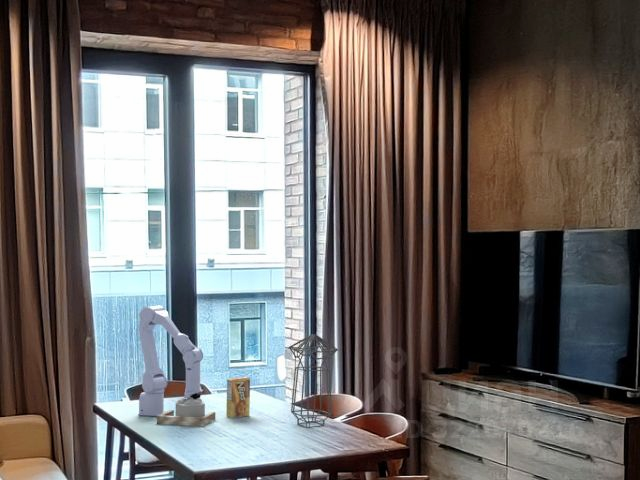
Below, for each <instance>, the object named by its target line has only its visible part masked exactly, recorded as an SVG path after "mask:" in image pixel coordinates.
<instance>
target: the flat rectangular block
mask: <svg viewBox="0 0 640 480" xmlns="http://www.w3.org/2000/svg"><path fill="white" fill-rule="evenodd" d="M164 412H165V413H162V414H160V415H158V416H156V424H157V425H170V426H171V425H175V426H189V427H191V426H194V427H205V426H207V425H209V424H210V423H212V422H214V421H216V412H215V411H211V412H209V413H207V414H205V416H203V417H182V416H176V415H175V409H169V410H167V411H164Z"/></svg>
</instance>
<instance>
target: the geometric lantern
mask: <svg viewBox="0 0 640 480" xmlns="http://www.w3.org/2000/svg"><path fill="white" fill-rule="evenodd" d="M298 344H299V345H298ZM312 344H313V346H312ZM297 345H298V346H297ZM308 346H309V347H308ZM287 348H288V349H289V350H290V351H291V353H292V355H293V356H294V373H293V374H294V375H293V384H292V397H291V409H290V412H291V414H292V415H293V416H294V417H295V419H296V421H297V422H296V423H297V424H296V425H297V426H300V427H304V428H305V429H307V428H308V429H309V428H317V427H318V428H319V427H325V422H326V420H328V418H329V417H330V416H331V415H332V392H331V391H332V388H331V387H332V385H331V384H332V383H331V381H332V380H331V378H332V377H331V371H332V370H331V368H329V367H330V364H329V361H330V359H332V357H333V356H334V355H335V354H336V353H337V352H338V351H339V350H340V349H338V348H337V347H335V346H334V345H333V344H332V343H330V342H328V341H326V339H324V338H322V337H321V336H319V335H318V334H315V333H313V334H309V335H308V336H306V337H304V338H302V339H301V340H299V341H297V342H295V343H293V344H292V345H290V346H288V347H287ZM318 349H320V350H318ZM304 352H308V354H305V353H304ZM298 353H299V354H298ZM313 353H315V355H314V354H313ZM318 353H322V357H318ZM303 357H309V358H310V360H311V363H310V365H308V366H304V365H303V363H302V359H303ZM312 357H313V358H314V359H312ZM296 359H298V361H299V362H298V364H296V363H297V362H296V361H297V360H296ZM315 360H316V361H318V360H323V361H322V362H321V364H320V366H317V365H316V364H315ZM326 360H327V362H326ZM312 364H314V366H312ZM296 365H297V366H296ZM300 365H301V366H300ZM323 365H325V367H323ZM310 368H311V369H310ZM312 368H313V369H312ZM314 368H315V369H314ZM299 370H300V371H303V375H302V387H301V400H300V401H301V403H300V409H298V410H297V409H295V407H296V397H297V390H298V389H297V387H298V380H299V379H298V377H299ZM305 372H307V373H306V375H307V376H306V377H307V378H306V379H307V382H306V383H307V384H306V386H307V391H306V392H307V393H306V395H307V397H306V399H307V401H306V402H307V403H306V409H303V405H304V404H303V402H304V391H305V389H304V388H305V387H304V386H305ZM310 372H315V380H314V381H315V383H314V398H313V409H312V408H311V409H310V408H309V407H310V406H309V405H310V404H309V402H310V401H309V397H310V396H309V394H310V393H309V390H310V389H309V388H310V387H309V382H310V380H309V378H310V375H309V374H310ZM318 372H319V409H316V398H317V397H316V396H317V395H316V394H317V382H318V381H317V380H318V379H317V378H318ZM322 372H326V387H327V388H326V393H327V411H325V410H322ZM299 412H300V414H299ZM303 412H306V413H307V414H304V415H303ZM310 412H312V414H310ZM315 412H317V414H315ZM320 413H324V414H320ZM320 417H325V418H324V419H323V418H320ZM306 419H307V420H306ZM310 419H311V420H310ZM300 421H302V422H300ZM310 423H316V424H319V425H313V426H311V424H310ZM304 424H305V425H304Z"/></svg>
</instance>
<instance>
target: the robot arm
mask: <svg viewBox="0 0 640 480" xmlns="http://www.w3.org/2000/svg"><path fill="white" fill-rule="evenodd" d="M138 316H139V322H138V333H139V338H140V345H141V349H142V350H141V351H142V355H143V362H144V368H145V370H144V372H143V374H142V384H141V388H142V390H143V392H141V393H140V395H139V396H138V397H139V399H138V416H148V417H157V416H158V415H160V414H162V413H165V412H166V411H164V406H165V405H164V401H165V400H164V398H165V397H164V395H165V394H164V393H165V389H166V388H167V387H168V379H167V377H166V376H165V372H164V370H162V368H160V365H159V358H158V352H157V347H156V342H155V336H154V331H153V330H154V329H155V327H156V325H160V326H162V328H163V329H164V330H165V331H166V332H167V333H168V334H169V335H170V336H171V337H172V338H173V344H174V345H175V347H176V348H177V350H178V351H179V352H180V353H181V354H182V360H183V362H184V364H185V365H184V367H185V389H184V390H185V391H184V393H183V394H184V397H183V398H186V399H188V398H190V397H192V398H193V399H195V400H196V399H197V398H200V399H201V396H202V395H201V393H203V391H204V389H202V386H201V361H202V360H203V359H204V353H203V351H202V349H201V347H197V346H196V344H193V342H192V341H191V340H190V339H189V338H190V337H189V336H188V334H185V333H181V332H180V330H179V329H178V326H176V325H175V323H174V321H173V320H172V319H171V317H170V316H169V311H167V310H166V308H165V307H164V306H162V305H160V304H159V305H155V306H154V305H153V306H144V307H143V308H142V309H141V310H140V311H139V314H138Z"/></svg>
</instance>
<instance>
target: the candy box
mask: <svg viewBox="0 0 640 480" xmlns="http://www.w3.org/2000/svg"><path fill="white" fill-rule="evenodd" d="M250 388H251V378H250V377H245V376H243V377H235V378H234V377H233V378H227V379H226V412H225V413H226V417H227V418H229V419H230V418H231V419H236V418H241V417H242V418H243V417H248V416H250V403H251V402H250V397H251V395H250V394H251V393H250V392H251V389H250Z"/></svg>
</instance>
